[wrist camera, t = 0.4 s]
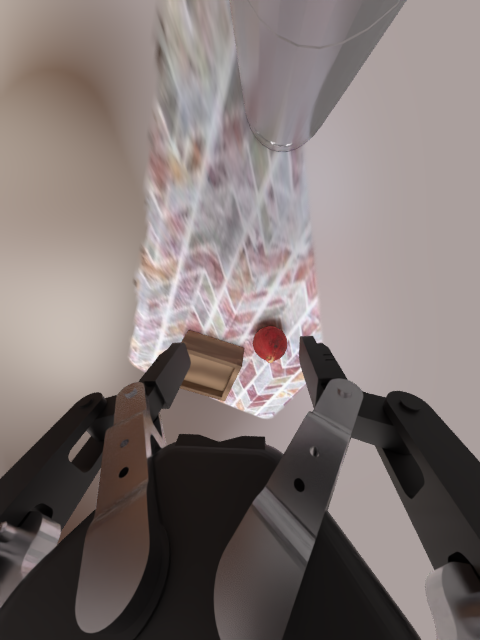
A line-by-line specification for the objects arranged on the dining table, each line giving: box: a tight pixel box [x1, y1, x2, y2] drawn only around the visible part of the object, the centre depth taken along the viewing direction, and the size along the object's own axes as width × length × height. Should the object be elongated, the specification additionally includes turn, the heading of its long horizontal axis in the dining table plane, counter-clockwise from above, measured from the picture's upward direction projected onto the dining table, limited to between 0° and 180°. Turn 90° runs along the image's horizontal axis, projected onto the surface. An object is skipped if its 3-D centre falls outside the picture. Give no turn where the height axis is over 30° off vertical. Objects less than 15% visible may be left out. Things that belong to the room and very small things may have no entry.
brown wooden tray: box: [180, 330, 244, 401], centre depth 36 cm, size 12×12×6 cm
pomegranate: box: [253, 326, 287, 363], centre depth 29 cm, size 6×6×8 cm
